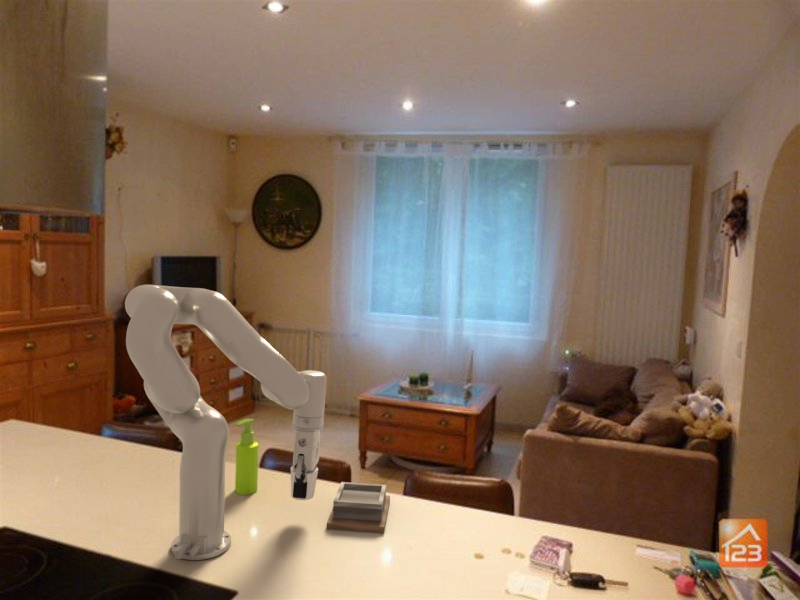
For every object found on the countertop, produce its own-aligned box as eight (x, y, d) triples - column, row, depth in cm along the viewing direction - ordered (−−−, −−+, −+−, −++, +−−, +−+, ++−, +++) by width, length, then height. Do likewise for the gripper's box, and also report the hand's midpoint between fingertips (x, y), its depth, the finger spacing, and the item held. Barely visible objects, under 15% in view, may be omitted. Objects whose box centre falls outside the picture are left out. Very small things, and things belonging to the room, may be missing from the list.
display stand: (384, 533, 141) (385, 510, 141) (326, 529, 142) (327, 506, 142) (389, 501, 159) (390, 480, 159) (338, 497, 160) (339, 477, 159)
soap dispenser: (227, 492, 160) (229, 421, 158) (245, 484, 166) (247, 415, 164) (244, 498, 157) (245, 425, 155) (261, 489, 163) (263, 418, 161)
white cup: (313, 502, 143) (316, 474, 142) (285, 499, 143) (287, 471, 142) (318, 491, 149) (320, 464, 149) (291, 489, 150) (293, 462, 149)
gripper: (316, 432, 136) (310, 508, 137) (329, 414, 153) (323, 481, 154) (284, 429, 137) (278, 504, 138) (301, 411, 154) (295, 478, 155)
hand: (302, 491), depth 146 cm, fingers closed on white cup, 6 cm apart
